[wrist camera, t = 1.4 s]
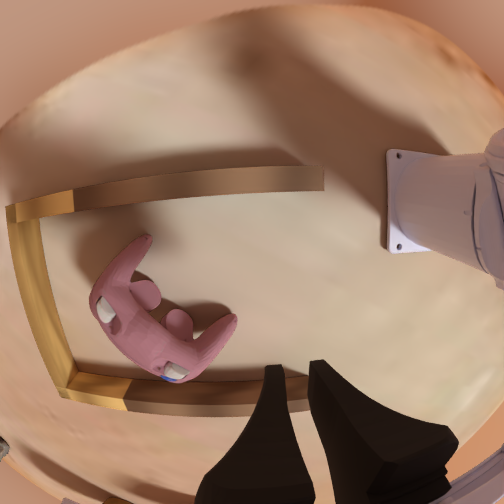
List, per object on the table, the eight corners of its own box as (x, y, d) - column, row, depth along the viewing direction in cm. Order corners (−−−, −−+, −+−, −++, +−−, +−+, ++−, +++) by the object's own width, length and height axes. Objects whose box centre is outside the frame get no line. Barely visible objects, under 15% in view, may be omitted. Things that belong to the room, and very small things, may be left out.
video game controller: (125, 256, 21) (69, 310, 15) (147, 223, 18) (78, 281, 12) (213, 336, 22) (177, 403, 17) (247, 317, 20) (211, 396, 14)
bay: (310, 169, 18) (323, 165, 15) (307, 387, 22) (314, 409, 19) (27, 203, 17) (5, 206, 14) (73, 380, 22) (61, 397, 19)
